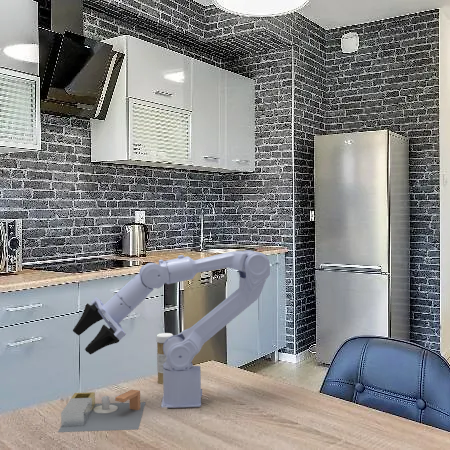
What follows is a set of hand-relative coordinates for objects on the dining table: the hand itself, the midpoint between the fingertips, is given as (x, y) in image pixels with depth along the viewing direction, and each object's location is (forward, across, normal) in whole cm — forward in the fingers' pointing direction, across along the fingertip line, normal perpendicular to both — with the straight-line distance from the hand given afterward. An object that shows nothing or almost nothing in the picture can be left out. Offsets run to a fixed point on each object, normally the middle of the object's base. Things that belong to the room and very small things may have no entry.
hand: (81, 342), depth 130 cm
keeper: (+3, +15, +12) cm, 20 cm away
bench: (+7, +14, +9) cm, 18 cm away
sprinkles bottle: (-5, +2, +31) cm, 32 cm away
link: (+11, +9, +7) cm, 16 cm away
